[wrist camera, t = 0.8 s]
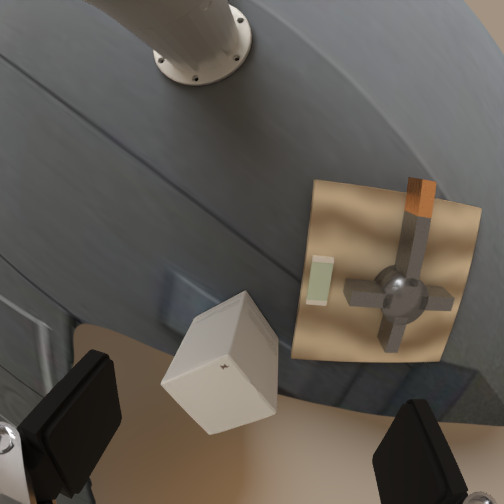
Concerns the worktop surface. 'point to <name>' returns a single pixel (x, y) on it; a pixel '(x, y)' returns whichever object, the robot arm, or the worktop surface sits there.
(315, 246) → the stand plate
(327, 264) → the level window
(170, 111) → the worktop surface
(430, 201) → the capstan
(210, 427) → the supplement box
